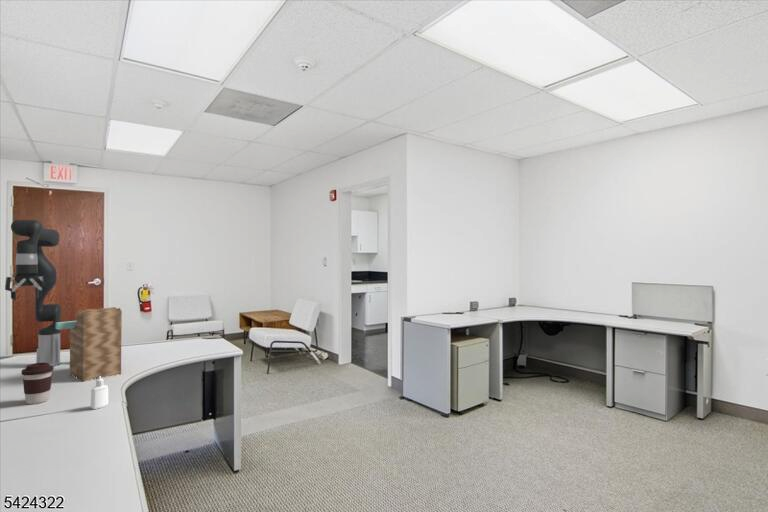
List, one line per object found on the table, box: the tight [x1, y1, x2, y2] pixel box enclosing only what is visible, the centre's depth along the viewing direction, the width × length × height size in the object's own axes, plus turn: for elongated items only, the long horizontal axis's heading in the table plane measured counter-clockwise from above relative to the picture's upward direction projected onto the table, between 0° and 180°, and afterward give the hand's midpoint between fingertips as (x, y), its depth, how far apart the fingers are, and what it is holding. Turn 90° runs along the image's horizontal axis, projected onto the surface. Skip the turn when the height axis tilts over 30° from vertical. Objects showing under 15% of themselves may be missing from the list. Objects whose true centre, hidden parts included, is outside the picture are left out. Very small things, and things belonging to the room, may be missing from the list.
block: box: [56, 320, 77, 331], centre depth 207 cm, size 26×4×3 cm, turn 142°
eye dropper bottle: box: [90, 376, 109, 410], centre depth 159 cm, size 4×6×12 cm
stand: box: [69, 307, 123, 382], centre depth 205 cm, size 16×20×33 cm
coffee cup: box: [21, 363, 55, 405], centre depth 165 cm, size 10×10×15 cm
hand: (26, 299), depth 185 cm, fingers open, 8 cm apart
